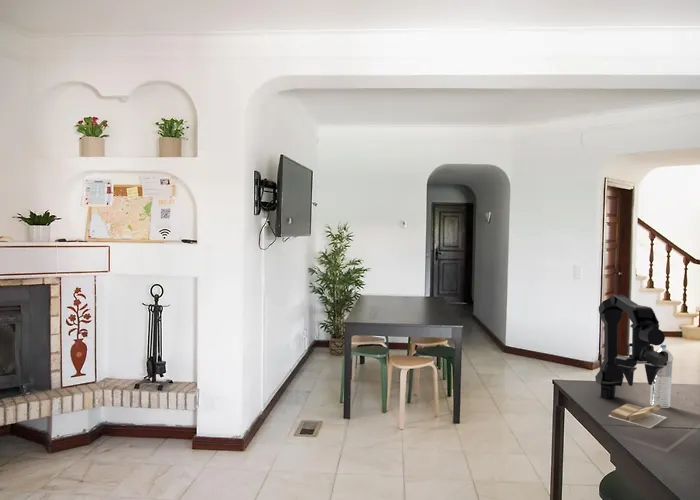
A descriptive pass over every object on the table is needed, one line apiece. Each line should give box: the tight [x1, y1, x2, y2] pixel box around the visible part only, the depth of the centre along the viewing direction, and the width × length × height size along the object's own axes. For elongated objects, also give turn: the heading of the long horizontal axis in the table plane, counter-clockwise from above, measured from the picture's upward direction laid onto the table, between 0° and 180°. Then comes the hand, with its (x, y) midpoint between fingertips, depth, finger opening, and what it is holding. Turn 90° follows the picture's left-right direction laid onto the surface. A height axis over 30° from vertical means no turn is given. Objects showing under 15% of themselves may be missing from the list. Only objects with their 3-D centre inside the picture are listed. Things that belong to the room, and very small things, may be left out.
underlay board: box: [608, 413, 668, 429], centre depth 185 cm, size 17×14×1 cm
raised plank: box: [628, 404, 662, 421], centre depth 184 cm, size 15×6×2 cm, turn 131°
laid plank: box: [610, 403, 643, 421], centre depth 188 cm, size 15×6×2 cm, turn 131°
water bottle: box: [649, 343, 674, 409], centre depth 199 cm, size 7×7×25 cm
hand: (640, 385), depth 181 cm, fingers open, 9 cm apart
